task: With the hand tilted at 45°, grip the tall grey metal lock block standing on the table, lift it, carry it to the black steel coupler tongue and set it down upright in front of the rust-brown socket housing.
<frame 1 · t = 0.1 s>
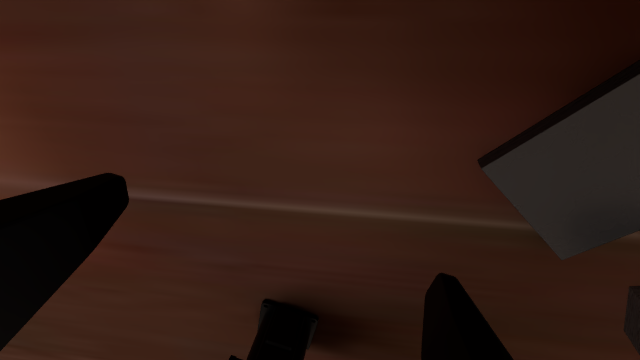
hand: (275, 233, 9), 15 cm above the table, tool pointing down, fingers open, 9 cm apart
coupler: (631, 149, 19), on the table
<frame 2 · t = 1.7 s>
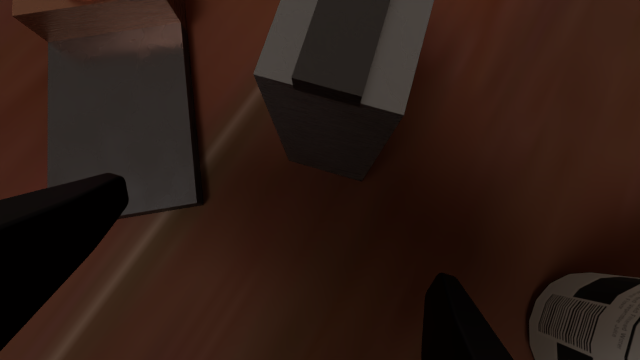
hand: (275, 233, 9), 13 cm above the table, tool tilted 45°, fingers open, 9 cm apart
lock block: (335, 136, 23), on the table
coupler: (128, 124, 24), on the table
supplement can: (582, 335, 21), on the table
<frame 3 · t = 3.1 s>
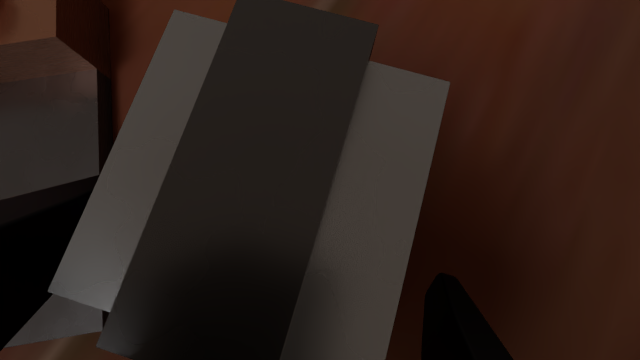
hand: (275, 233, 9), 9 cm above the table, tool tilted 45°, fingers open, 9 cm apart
lock block: (302, 224, 17), on the table
coupler: (23, 206, 17), on the table
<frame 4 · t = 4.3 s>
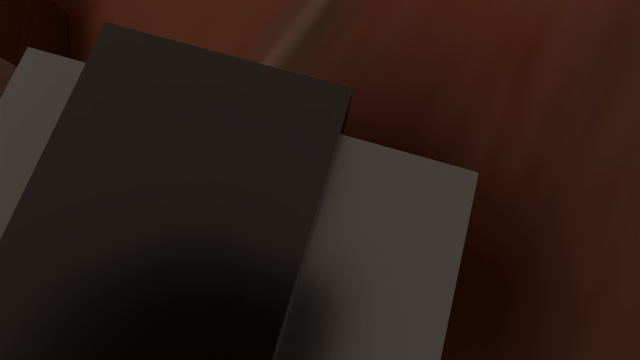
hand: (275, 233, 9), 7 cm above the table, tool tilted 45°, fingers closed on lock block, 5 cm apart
lock block: (286, 266, 15), on the table, touching gripper
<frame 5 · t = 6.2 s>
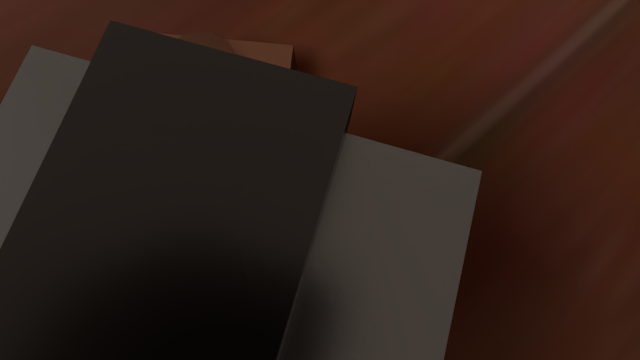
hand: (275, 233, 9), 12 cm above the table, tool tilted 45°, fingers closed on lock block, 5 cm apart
lock block: (287, 265, 15), point 6 cm above the table, touching gripper
coupler: (202, 237, 21), on the table
when the fingers open (9 cm above the table, at t = 8.0 s): lock block stays where it is, resting on coupler.
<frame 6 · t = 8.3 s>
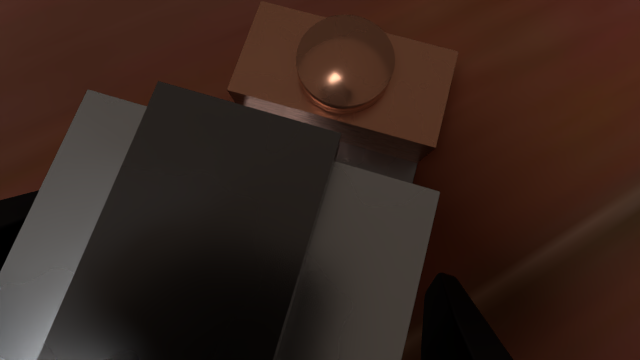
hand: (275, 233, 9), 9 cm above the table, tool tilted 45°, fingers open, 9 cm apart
lock block: (287, 264, 16), point 1 cm above the table, touching coupler
coupler: (291, 262, 17), on the table
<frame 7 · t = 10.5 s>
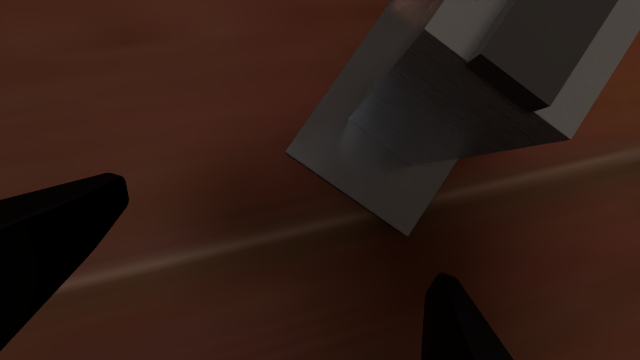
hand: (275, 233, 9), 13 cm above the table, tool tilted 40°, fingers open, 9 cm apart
lock block: (403, 109, 21), point 1 cm above the table, touching coupler
coupler: (398, 113, 23), on the table
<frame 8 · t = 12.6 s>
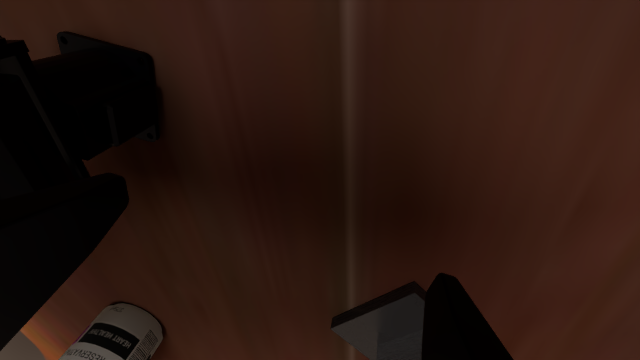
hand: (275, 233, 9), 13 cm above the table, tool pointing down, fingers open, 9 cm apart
lock block: (418, 352, 30), point 1 cm above the table, touching coupler
coupler: (417, 341, 31), on the table
supplement can: (138, 319, 41), on the table
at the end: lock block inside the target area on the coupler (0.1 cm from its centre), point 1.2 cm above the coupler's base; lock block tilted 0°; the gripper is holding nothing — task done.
